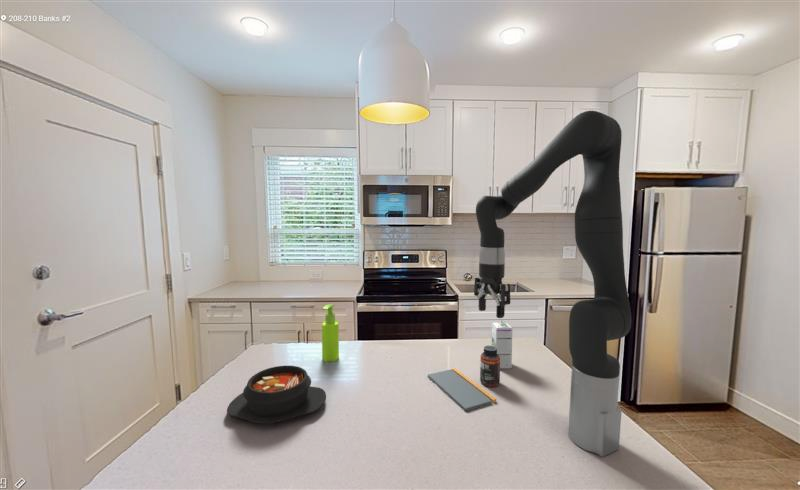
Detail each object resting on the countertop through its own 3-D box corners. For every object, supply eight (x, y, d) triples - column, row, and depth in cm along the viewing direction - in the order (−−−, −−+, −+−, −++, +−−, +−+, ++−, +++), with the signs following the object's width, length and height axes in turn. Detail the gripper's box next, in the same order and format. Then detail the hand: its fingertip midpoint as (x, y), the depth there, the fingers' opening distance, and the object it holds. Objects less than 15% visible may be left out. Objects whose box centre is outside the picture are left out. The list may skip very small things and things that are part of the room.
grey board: (496, 401, 88) (496, 398, 88) (465, 411, 84) (465, 408, 84) (454, 370, 106) (455, 368, 106) (427, 376, 102) (427, 374, 102)
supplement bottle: (497, 378, 101) (498, 344, 100) (501, 388, 95) (502, 352, 94) (478, 377, 102) (479, 343, 101) (481, 387, 96) (482, 351, 95)
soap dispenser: (317, 361, 112) (316, 306, 110) (327, 353, 119) (327, 301, 117) (332, 364, 110) (331, 308, 109) (341, 355, 117) (341, 303, 115)
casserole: (330, 387, 95) (330, 360, 94) (320, 428, 77) (319, 395, 76) (244, 390, 93) (243, 363, 92) (212, 433, 74) (211, 399, 74)
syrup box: (512, 368, 108) (513, 327, 107) (494, 368, 108) (496, 327, 107) (506, 361, 114) (508, 322, 112) (490, 361, 114) (491, 321, 113)
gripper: (518, 264, 91) (516, 319, 92) (487, 259, 104) (486, 307, 105) (497, 265, 88) (496, 321, 89) (468, 259, 101) (467, 309, 102)
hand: (490, 313), depth 97 cm, fingers open, 8 cm apart
